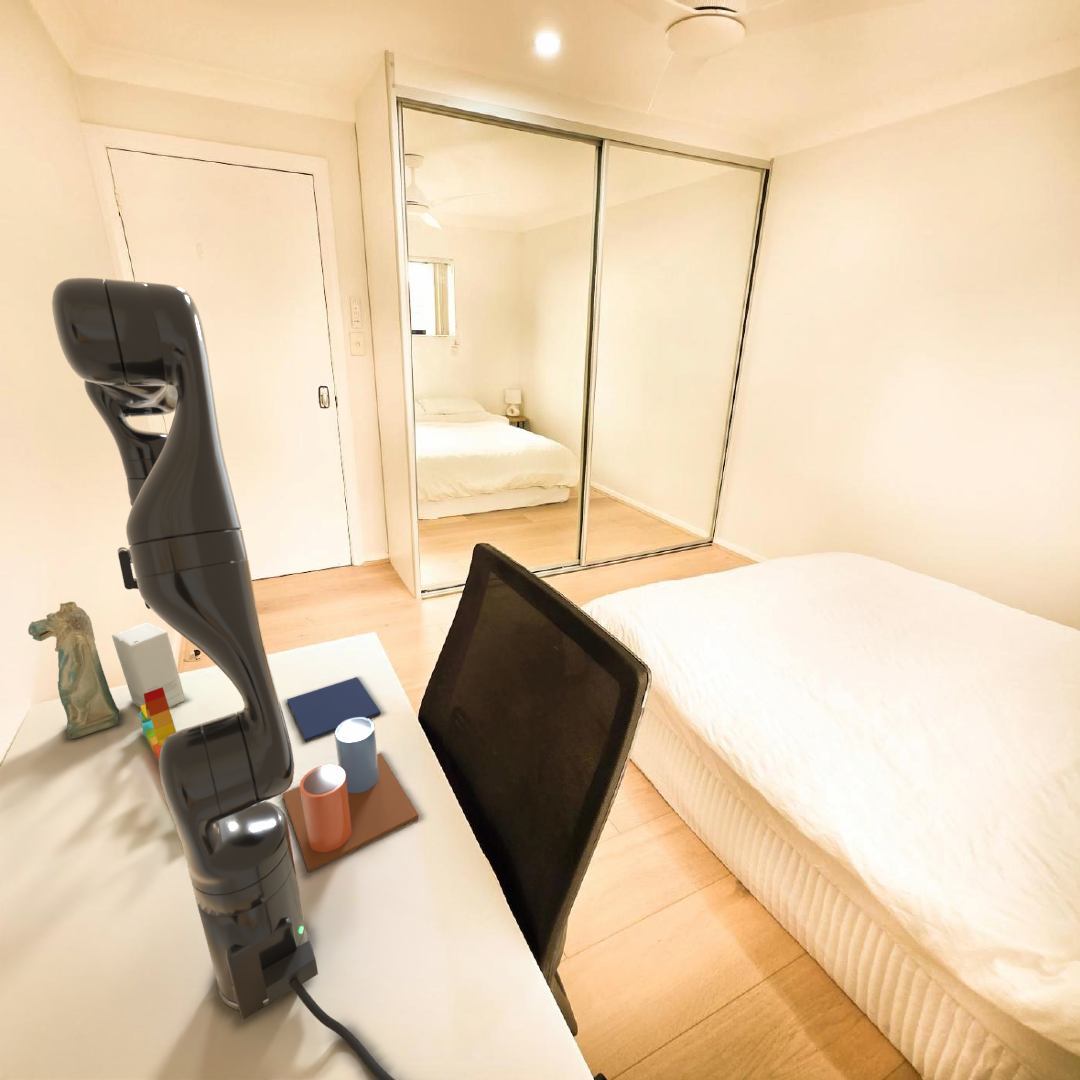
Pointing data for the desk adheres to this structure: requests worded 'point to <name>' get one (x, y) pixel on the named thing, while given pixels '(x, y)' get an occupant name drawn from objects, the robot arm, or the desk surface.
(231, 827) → the robot arm
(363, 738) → the blue tumbler
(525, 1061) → the desk surface
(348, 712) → the navy mat
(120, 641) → the cosmetic box
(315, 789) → the terracotta tumbler
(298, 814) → the brown mat
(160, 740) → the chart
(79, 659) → the statue
